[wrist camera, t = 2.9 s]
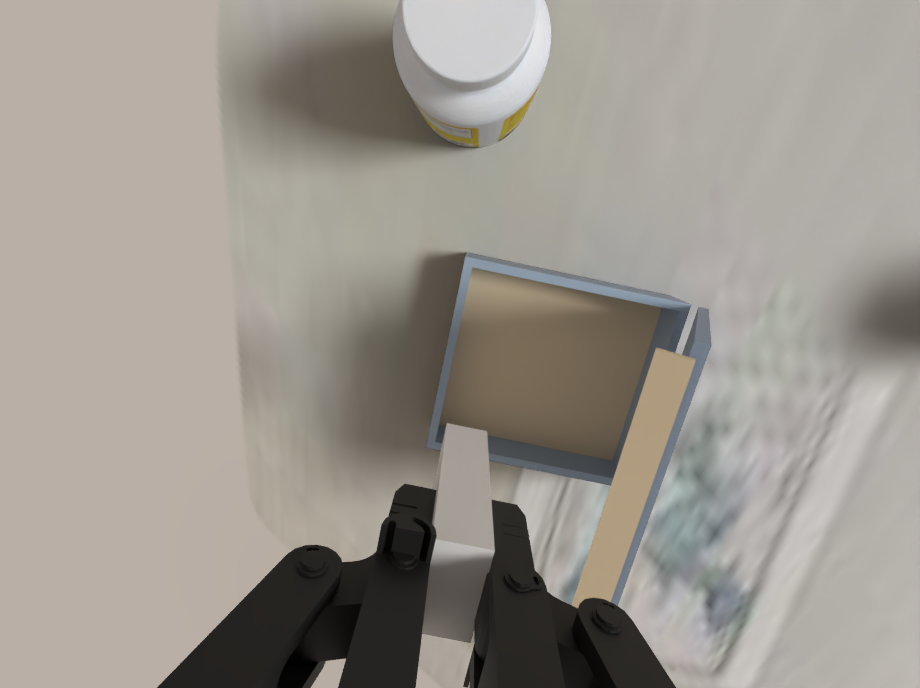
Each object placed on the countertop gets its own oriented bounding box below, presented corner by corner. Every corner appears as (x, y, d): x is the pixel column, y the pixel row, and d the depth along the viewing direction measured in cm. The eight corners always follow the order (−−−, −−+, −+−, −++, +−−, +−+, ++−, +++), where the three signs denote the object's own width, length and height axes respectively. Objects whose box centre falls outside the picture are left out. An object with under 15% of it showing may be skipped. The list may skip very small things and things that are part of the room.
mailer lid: (660, 334, 15) (711, 348, 15) (680, 302, 27) (708, 309, 27) (562, 634, 18) (600, 656, 18) (618, 486, 31) (643, 496, 30)
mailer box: (466, 252, 30) (465, 256, 27) (670, 295, 30) (691, 304, 27) (429, 428, 33) (425, 449, 30) (615, 466, 33) (628, 490, 31)
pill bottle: (537, 29, 27) (580, -103, 16) (523, 154, 28) (554, 117, 17) (419, 20, 27) (378, -118, 16) (413, 145, 29) (372, 103, 17)
